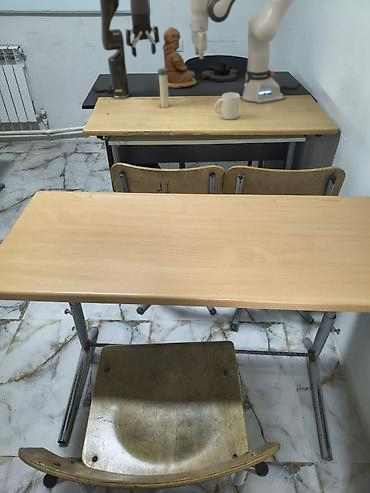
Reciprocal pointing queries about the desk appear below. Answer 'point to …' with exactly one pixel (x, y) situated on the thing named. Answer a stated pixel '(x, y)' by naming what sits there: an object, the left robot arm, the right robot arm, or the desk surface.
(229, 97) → the mug
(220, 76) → the abstract sculpture
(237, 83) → the desk surface
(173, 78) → the sculpture
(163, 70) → the lid
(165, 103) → the beige tapered cylinder
